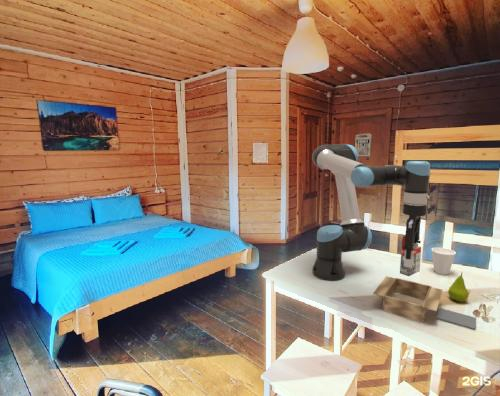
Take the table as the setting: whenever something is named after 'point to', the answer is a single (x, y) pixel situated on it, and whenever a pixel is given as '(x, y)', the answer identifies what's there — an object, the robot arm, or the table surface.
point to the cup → (442, 260)
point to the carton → (412, 289)
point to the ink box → (416, 260)
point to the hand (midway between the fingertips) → (410, 262)
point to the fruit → (458, 290)
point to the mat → (456, 318)
